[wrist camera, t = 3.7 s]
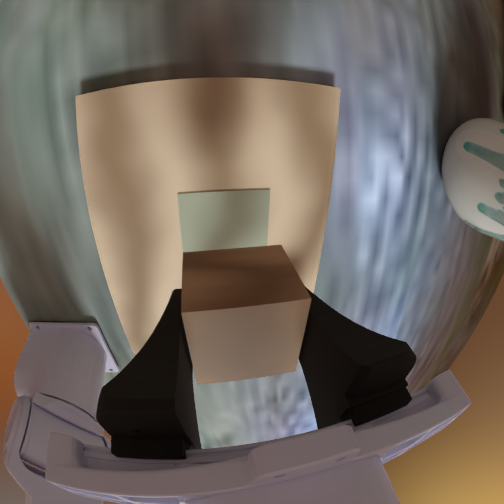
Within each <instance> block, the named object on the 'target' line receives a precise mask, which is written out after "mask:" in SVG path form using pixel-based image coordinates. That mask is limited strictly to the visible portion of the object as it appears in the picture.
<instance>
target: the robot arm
mask: <svg viewBox="0 0 504 504" xmlns="http://www.w3.org/2000/svg"><path fill="white" fill-rule="evenodd" d="M305 288H306V287H305ZM306 289H307V291H308V293H309V295H310V297H311V303H310V308H309V313H308V318H307V323H306V327H305V332H304V336H303V341H302V345H301V350H300V354H299V358H298V359H299V361H300V364H301V366H302V369H303V372H304V376H305V379H306V382H307V386H308V390H309V393H310V397H311V401H312V405H313V409H314V413H315V418H316V422H317V427H318V430H314V431H310V432H306V433H302V434H298V435H294V436H289V437H285V438H280V439H275V440H270V441H264V442H259V443H252V444H246V445H239V446H231V447H221V448H210V449H201V443H200V437H199V431H198V424H197V417H196V409H195V401H194V392H193V379H192V369H193V364H192V360H191V356H190V352H189V347H188V343H187V338H186V333H185V329H184V324H183V319H182V314H181V295H182V289H174V290H173V291H172V294H171V297H170V299H169V302H168V304H167V306H166V308H165V311H164V312H163V314H162V316H161V318H160V320H159V322H158V324H157V326H156V327H155V329H154V331H153V332H152V334H151V336H150V337H149V339H148V340H147V342H146V343H145V344H144V346H143V347H142V348H141V350H140V351H139V352H138V353H137V355H136V356H135V357H134V358H133V359H132V361H131V362H130V363H129V364H128V365H127V366H126V367H125V368H124V369H123V370H122V371H121V372H120V373H119V374H118V375H117V376H116V377H114V378H113V379H112V380H111V381H110V382H108V383H107V384H106V385H105V386H103V381H104V375H105V372H119V367H118V365H117V363H116V361H115V359H114V357H113V355H112V353H111V351H110V349H109V347H108V345H107V343H106V341H105V339H104V337H103V335H102V333H101V330H100V328H99V326H98V325H97V324H96V323H51V322H29V324H28V326H29V328H30V330H31V332H30V334H29V336H28V339H27V341H26V343H25V346H24V348H23V351H22V353H21V355H20V358H19V361H18V363H17V366H16V369H15V374H14V384H15V390H16V393H17V395H18V397H17V398H16V400H15V402H14V404H13V406H12V409H11V412H10V415H9V418H8V422H7V426H6V431H5V439H4V440H5V441H4V442H5V443H4V449H3V460H4V462H5V467H6V469H7V470H8V472H9V473H10V474H11V476H12V477H13V478H14V479H15V481H16V482H17V483H18V484H19V486H20V487H21V488H22V489H23V490H24V491H25V493H26V501H25V504H102V503H104V500H105V501H110V502H116V503H121V504H400V503H399V500H398V498H397V496H396V493H395V491H394V489H393V487H392V484H391V482H390V480H389V477H388V475H387V473H386V471H385V468H384V466H383V463H385V462H387V461H389V460H391V459H393V458H395V457H397V456H399V455H401V454H402V453H404V452H406V451H407V450H409V449H411V448H413V447H414V446H416V445H418V444H420V443H421V442H423V441H424V440H426V439H428V438H429V437H431V436H432V435H434V434H435V433H437V432H439V431H440V430H442V429H443V428H444V427H446V426H447V425H448V424H449V423H451V422H452V421H453V420H454V419H455V418H456V417H457V416H459V415H460V414H461V413H462V412H463V411H464V410H465V409H466V408H467V407H468V406H469V405H470V404H471V401H470V399H469V398H468V396H467V394H466V393H465V392H464V390H463V388H462V387H461V386H460V384H459V383H458V381H457V380H456V378H455V377H454V375H453V374H452V373H451V371H450V370H447V371H445V372H444V373H442V374H440V375H438V376H436V377H435V378H434V379H432V380H431V381H430V383H429V384H428V385H427V387H426V388H424V389H422V390H420V391H418V392H416V393H414V394H412V395H410V394H409V392H408V390H407V389H406V387H407V385H408V383H407V381H406V380H405V378H406V376H407V375H408V374H409V372H410V371H411V369H412V368H413V366H414V364H415V362H416V355H415V354H414V352H413V351H412V349H411V348H410V347H409V345H408V344H407V343H406V342H403V341H400V340H396V339H393V338H389V337H386V336H384V335H381V334H378V333H376V332H373V331H371V330H369V329H367V328H365V327H363V326H361V325H359V324H357V323H355V322H353V321H351V320H350V319H348V318H346V317H345V316H343V315H341V314H340V313H338V312H337V311H335V310H334V309H333V308H331V307H330V306H328V305H327V304H326V303H324V302H323V301H322V300H321V299H319V298H318V297H317V296H316V295H315V294H313V293H312V292H311V291H310V290H309V289H308V288H306ZM98 423H99V424H98ZM104 429H105V430H106V431H107V432H108V433H109V434H110V435H111V436H112V437H111V439H112V440H111V442H110V440H109V439H108V438H107V437H106V436H105V435H103V430H104ZM21 459H22V460H24V461H26V462H28V463H30V464H33V465H35V466H37V467H39V468H41V469H43V470H46V472H43V471H41V470H38V469H36V468H34V467H32V466H30V465H28V464H26V463H24V462H23V461H22V460H21Z"/></svg>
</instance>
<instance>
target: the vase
mask: <svg viewBox="0 0 504 504" xmlns="http://www.w3.org/2000/svg"><path fill="white" fill-rule="evenodd" d="M442 181H443V186H444V190H445V193H446V195H447V198H448V200H449V202H450V204H451V206H452V208H453V209H454V210H455V212H456V213H457V214H458V216H459V217H460V218H461V219H462V220H463V221H464V222H466V223H467V224H468V225H469V226H471V227H473V228H474V229H476V230H478V231H479V232H481V233H484V234H486V235H488V236H491V237H493V238H496V239H498V240H501V241H504V123H503V122H501V121H498V120H495V119H491V118H475V119H471V120H469V121H466V122H464V123H463V124H461V125H460V126H459V127H457V128H456V129H455V131H454V132H453V133H452V134H451V136H450V138H449V140H448V142H447V144H446V147H445V150H444V154H443V159H442Z"/></svg>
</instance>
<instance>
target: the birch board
mask: <svg viewBox="0 0 504 504" xmlns="http://www.w3.org/2000/svg"><path fill="white" fill-rule="evenodd" d="M339 103H340V88H337V87H332V86H326V85H319V84H313V83H305V82H297V81H288V80H277V79H263V78H238V77H212V78H187V79H174V80H163V81H154V82H146V83H138V84H132V85H126V86H120V87H114V88H109V89H104V90H99V91H95V92H91V93H86V94H82V95H78V96H76V117H77V132H78V143H79V153H80V161H81V169H82V176H83V182H84V188H85V194H86V200H87V205H88V210H89V215H90V219H91V224H92V228H93V233H94V237H95V241H96V245H97V249H98V253H99V256H100V260H101V263H102V267H103V270H104V274H105V277H106V280H107V283H108V287H109V290H110V293H111V296H112V299H113V302H114V305H115V307H116V310H117V313H118V316H119V318H120V321H121V324H122V326H123V329H124V331H125V334H126V336H127V339H128V341H129V344H130V346H131V349H132V351H133V353H134V354H137V353H138V352H139V351H140V350H141V348H142V347H143V346H144V344H145V343H146V342H147V340H148V339H149V337H150V336H151V334H152V332H153V331H154V329H155V327H156V326H157V324H158V322H159V320H160V318H161V316H162V314H163V312H164V311H165V308H166V306H167V304H168V302H169V299H170V297H171V294H172V291H173V290H174V289H182V262H183V252H194V251H207V250H219V249H232V248H245V247H258V246H270V245H282V247H283V249H284V250H285V252H286V254H287V256H288V257H289V259H290V261H291V263H292V264H293V266H294V268H295V270H296V272H297V273H298V275H299V277H300V279H301V280H302V282H303V284H304V286H305V287H306V288H308V289H309V290H310V291H311V292H312V293H314V288H315V283H316V278H317V273H318V267H319V262H320V256H321V251H322V245H323V239H324V233H325V227H326V220H327V214H328V207H329V200H330V192H331V185H332V177H333V168H334V159H335V150H336V140H337V129H338V117H339Z"/></svg>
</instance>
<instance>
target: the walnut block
mask: <svg viewBox="0 0 504 504" xmlns="http://www.w3.org/2000/svg"><path fill="white" fill-rule="evenodd" d="M310 303H311V297H310V295H309V293H308V291H307V289H306V288H305V286H304V284H303V282H302V280H301V279H300V277H299V275H298V273H297V272H296V270H295V268H294V266H293V264H292V263H291V261H290V259H289V257H288V256H287V254H286V252H285V250H284V249H283V247H282V245H270V246H258V247H245V248H232V249H219V250H207V251H194V252H183V262H182V295H181V314H182V319H183V324H184V329H185V333H186V338H187V343H188V347H189V352H190V356H191V360H192V364H193V369H194V373H195V377H196V381H197V384H208V383H218V382H228V381H236V380H244V379H251V378H258V377H264V376H271V375H276V374H282V373H288V372H293V371H295V370H296V366H297V362H298V358H299V354H300V350H301V345H302V341H303V336H304V332H305V327H306V323H307V318H308V313H309V308H310Z"/></svg>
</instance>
